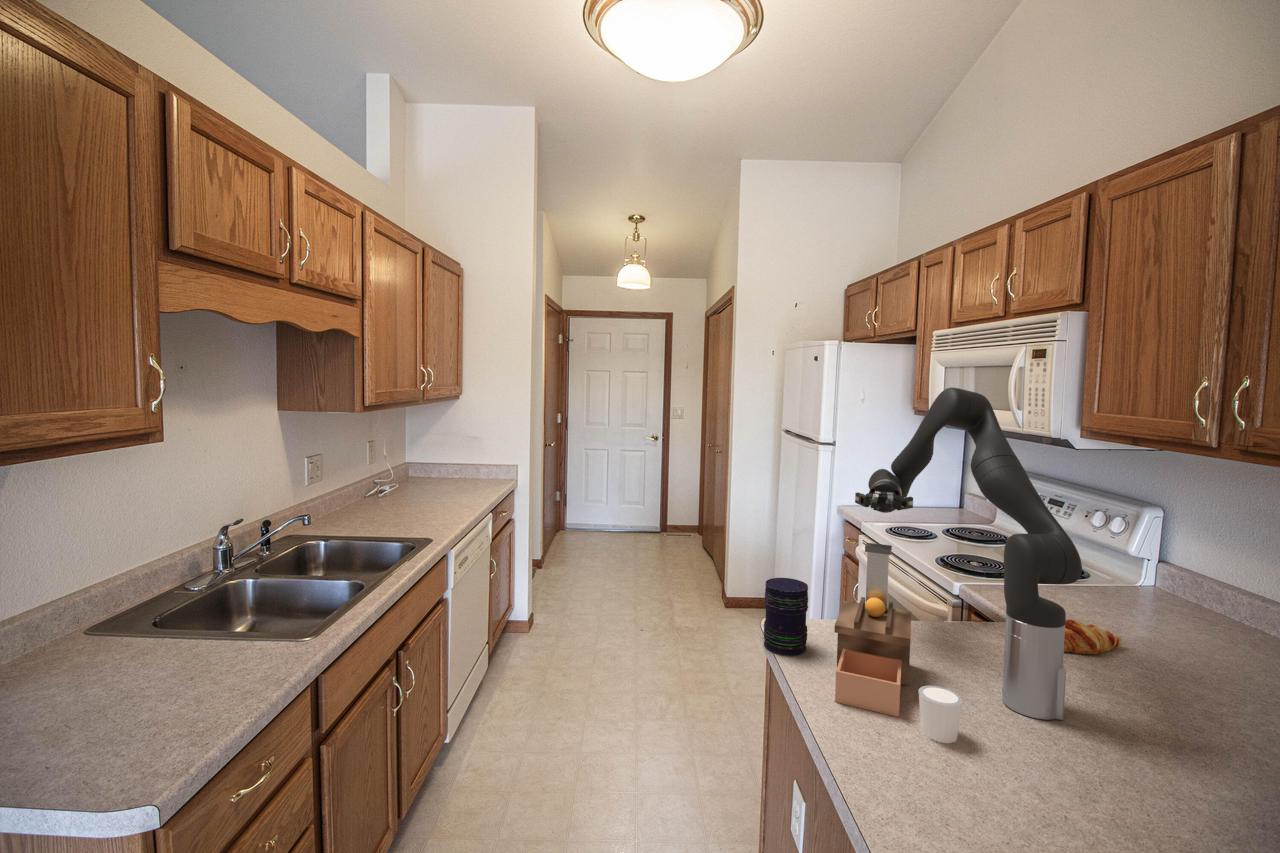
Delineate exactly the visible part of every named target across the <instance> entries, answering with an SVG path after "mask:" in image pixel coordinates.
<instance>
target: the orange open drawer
mask: <svg viewBox="0 0 1280 853" xmlns="http://www.w3.org/2000/svg"><path fill="white" fill-rule="evenodd" d="M901 669H902V660H899V659H894V658H889V657H883V656H878V655H873V654H868V653H863V652H858V651H853V650H848V649H843V650H842V653H841V657H840V660H839V663H838V666H837V665H836V670H835V689H834V690H835V691H834V692H835V694H834V702H835V703H837V704H838V703H839V704H843V705H847V706H852V707H855V708H860V709H865V710H868V711H872V712H873V711H874V712H876V713H881V714H886V715H889V716H892V717H897V718H899V716H900V706H901V705H900V704H901V692H902V690H901V689H902V684H901Z"/></svg>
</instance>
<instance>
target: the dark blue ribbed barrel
mask: <svg viewBox="0 0 1280 853" xmlns="http://www.w3.org/2000/svg"><path fill="white" fill-rule="evenodd" d="M808 603H809V585H808V584H807V583H806V582H804V581H802V580H799V579H795V578H789V577H772V578H769V579H767V580H765V592H764V607H765V620H764V622H763V639H764V641H763V647H764V648H765V649H766V650H767V651H768V652H770V653H772V654H775V655H778V656H782V657H783V656H784V657H799V656H802V655H804V654H805V653H806V652H807V640H808V625H807V612H808V608H809V604H808Z"/></svg>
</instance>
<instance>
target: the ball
mask: <svg viewBox="0 0 1280 853" xmlns="http://www.w3.org/2000/svg"><path fill="white" fill-rule="evenodd" d="M865 609H866V612H867V613H868V614H869V615H870V616H872V617H880V616H882V615H883V614H884V612H885V605H884V603H883V602H882V601H881V600H880V599H878V598H870V599H868V600H867V601H866V600H865Z"/></svg>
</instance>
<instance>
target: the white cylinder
mask: <svg viewBox="0 0 1280 853" xmlns="http://www.w3.org/2000/svg"><path fill="white" fill-rule="evenodd" d="M918 703H919V704H918V705H919V719H920V732H921V733H922V734H923V735H924V736H925V735H926V736H927V738H928V739H929V738H930V739H929V740H931V739H933V740H932V741H934V742H936V741H937V743H942V744H952V742H953V743H956V741H957V740H958V736H959V735H958V734H959V728H960V721H961V715H962V709H963V703H964V701H963V697H961V696H960V695H959V693H957V692H955V691H954V690H952V689H949V688H946V687H943V686H939V685H923V686H920V688H919V689H918ZM926 736H925V737H926Z"/></svg>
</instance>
